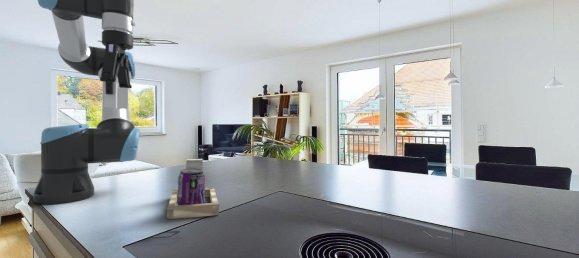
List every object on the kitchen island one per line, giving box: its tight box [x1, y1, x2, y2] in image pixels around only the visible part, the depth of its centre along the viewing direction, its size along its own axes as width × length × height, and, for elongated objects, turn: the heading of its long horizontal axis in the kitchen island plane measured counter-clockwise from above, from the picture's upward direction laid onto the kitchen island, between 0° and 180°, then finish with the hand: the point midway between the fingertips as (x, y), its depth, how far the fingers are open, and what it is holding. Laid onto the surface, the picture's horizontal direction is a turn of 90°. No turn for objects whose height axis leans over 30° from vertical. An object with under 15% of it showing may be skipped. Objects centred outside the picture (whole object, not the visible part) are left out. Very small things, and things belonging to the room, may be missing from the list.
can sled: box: [166, 158, 220, 220], centre depth 83 cm, size 21×13×12 cm, turn 19°
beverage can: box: [177, 168, 206, 205], centre depth 78 cm, size 7×7×12 cm
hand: (117, 108), depth 78 cm, fingers open, 13 cm apart
